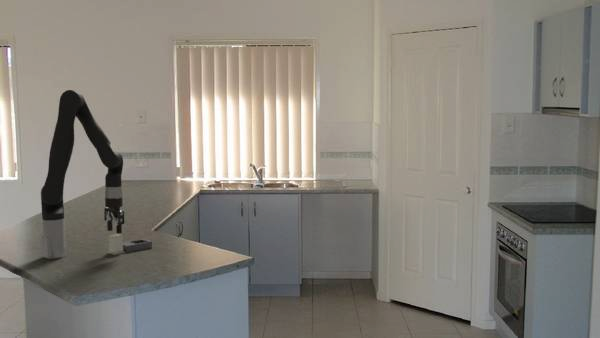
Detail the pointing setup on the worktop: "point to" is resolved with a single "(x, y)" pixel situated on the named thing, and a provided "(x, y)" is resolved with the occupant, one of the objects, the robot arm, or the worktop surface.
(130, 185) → the worktop surface
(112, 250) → the beige rectangular block
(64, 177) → the robot arm
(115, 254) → the mat
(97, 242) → the worktop surface
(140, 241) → the grey holder tray
